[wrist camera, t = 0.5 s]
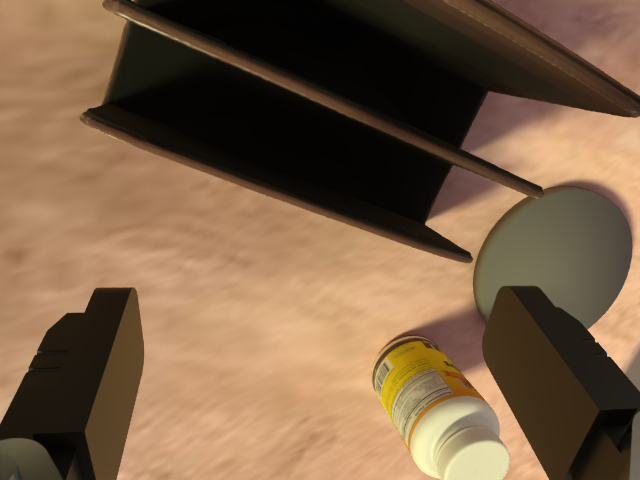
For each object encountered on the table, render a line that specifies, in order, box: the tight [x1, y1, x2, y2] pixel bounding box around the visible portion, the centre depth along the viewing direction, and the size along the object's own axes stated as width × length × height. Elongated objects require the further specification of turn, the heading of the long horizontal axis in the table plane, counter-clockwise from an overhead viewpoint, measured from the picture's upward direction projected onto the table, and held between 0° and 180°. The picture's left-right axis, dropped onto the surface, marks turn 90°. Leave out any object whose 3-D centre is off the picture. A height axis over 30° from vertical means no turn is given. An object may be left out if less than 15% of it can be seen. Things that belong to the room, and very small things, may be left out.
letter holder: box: [80, 0, 640, 263], centre depth 22 cm, size 10×20×14 cm, turn 66°
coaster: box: [473, 186, 632, 329], centre depth 36 cm, size 12×12×1 cm
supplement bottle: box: [371, 336, 510, 480], centre depth 32 cm, size 6×6×10 cm
